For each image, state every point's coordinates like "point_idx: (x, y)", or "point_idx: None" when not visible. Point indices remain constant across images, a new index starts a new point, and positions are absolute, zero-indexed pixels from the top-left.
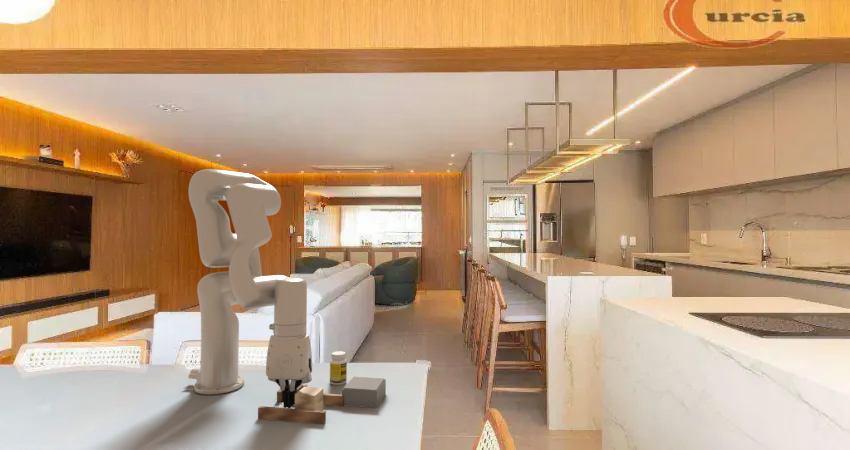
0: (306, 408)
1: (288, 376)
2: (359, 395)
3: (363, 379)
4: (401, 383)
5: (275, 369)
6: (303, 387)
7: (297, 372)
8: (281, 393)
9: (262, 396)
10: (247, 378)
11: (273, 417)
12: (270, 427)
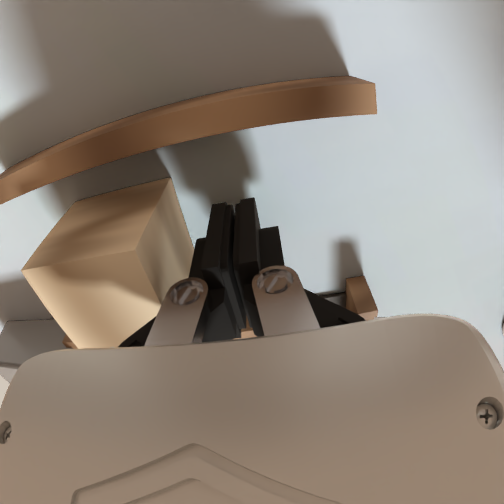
0: (95, 214)
1: (144, 376)
2: (26, 349)
3: None
4: None
5: (375, 445)
6: None
7: (35, 417)
8: (355, 312)
9: (437, 291)
10: (495, 351)
11: (248, 88)
12: (197, 6)
